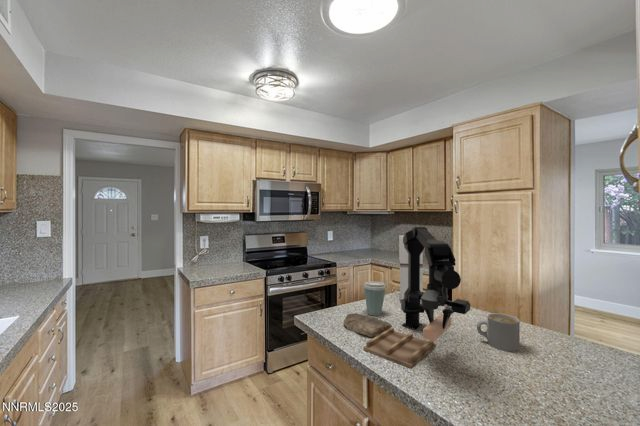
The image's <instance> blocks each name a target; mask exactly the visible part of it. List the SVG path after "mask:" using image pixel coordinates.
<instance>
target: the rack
mask: <svg viewBox="0 0 640 426" xmlns="http://www.w3.org/2000/svg"><path fill="white" fill-rule="evenodd" d="M407 335H408V334H405V333H403V332H400V331H396V330H394V332H393V333H392V334H390V335H388V336H387V337H385V338H384V339H382V340H380V341H379V342H377V343H375V344H374V345H372V346H371V347H369V348H368V347H366V345H365V346H363V351H365V352H367V353H370V354H372V355H375V356H378V357H380V358H383V359H384V360H385V359H386V360H388V361H391V362H393V363H396V364H398V365H401V366H403V367H406V368H409V369H412V368H413V367H414V366H416V365H417V363H419V362H420V361H421V360H423V358H425V356H427V355H428V354H430V352H431V351H433V350H434V349H435V348H436V347H437V343H435V342H434V344H433V345H432V346H431V347H430V348H429V349H427V350H426V351H425V352H424V353H423V354H422V355H420V356H419V357H418V358H417V359H416V360H414V361H413V362H412V363H408V357H409V356H410V355H412V354H413V353H414V352H415V351H417V350H418V349H419V348H420V347H422V346H423V345H424V344H425V343H427V342H428V341H429V340H427V339H426V340H425V339H424V338H423V339H422V338H419V337H416V336H413V338H412V339H410V340H409V341H408V342H406V343H405V344H404V345H402V346H401V347H399V348H398V349H397V350H395V351H394V352H392V353H391V354H390V355H387V354H386V349H388V348H389V347H390V346H392V345H393V344H395V343H396V342H398V341H399V340H401V339H402V338H404V337H405V336H407Z"/></svg>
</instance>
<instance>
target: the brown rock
mask: <svg viewBox="0 0 640 426" xmlns="http://www.w3.org/2000/svg"><path fill="white" fill-rule="evenodd" d="M343 324H344V326H345V327H346V329H347V330H350V331H351V332H353V333H356V334H361V335H364V336H366V337H369V338H370V337H371V338H375V337H376V336H378V335H380V334H381V333H383V332H385V331H386V330H388V329H390V328H391V327H393V326H392V324H391V323H390V322H388V321H385V320H382V319H378V318H376V317H375V316H371V315H370V316H369V315H363V314H361V313H347V315H346V316H345V318H344V319H343Z"/></svg>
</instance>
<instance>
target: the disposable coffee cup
mask: <svg viewBox="0 0 640 426" xmlns="http://www.w3.org/2000/svg"><path fill="white" fill-rule="evenodd" d="M363 289H364V297H365V304H366V312H367V314H368V315H370V316H373V317H375V316H376V317H377V316H381V314H382V312H383V306H384V300H385V294H386V289H387V285H386V284H385V283H384V282H380V281H365V282H364V284H363Z"/></svg>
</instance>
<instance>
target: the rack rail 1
mask: <svg viewBox="0 0 640 426" xmlns="http://www.w3.org/2000/svg"><path fill="white" fill-rule="evenodd" d="M394 331H395V327H393V326H392V327H391V328H390V329H388V330H386V331H385V332H383V333H381V334H380V335H378V336H376V337H372V338H371V339H369V340H368V341H366V343H365V344H366V345H365V346H366V347H368V348H369V347H371V346H372V345H374V344H375V343H377V342H379V341H380V340H382V339H384V338H385V337H387V336H388V335H390V334H392V333H393V332H394Z"/></svg>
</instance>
